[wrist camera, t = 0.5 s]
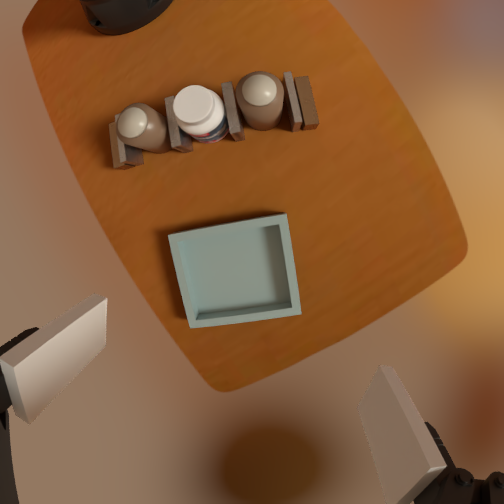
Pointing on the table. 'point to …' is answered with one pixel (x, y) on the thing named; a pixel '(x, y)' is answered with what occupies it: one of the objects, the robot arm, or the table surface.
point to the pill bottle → (201, 114)
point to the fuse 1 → (144, 128)
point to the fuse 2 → (260, 100)
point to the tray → (236, 271)
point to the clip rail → (297, 106)
